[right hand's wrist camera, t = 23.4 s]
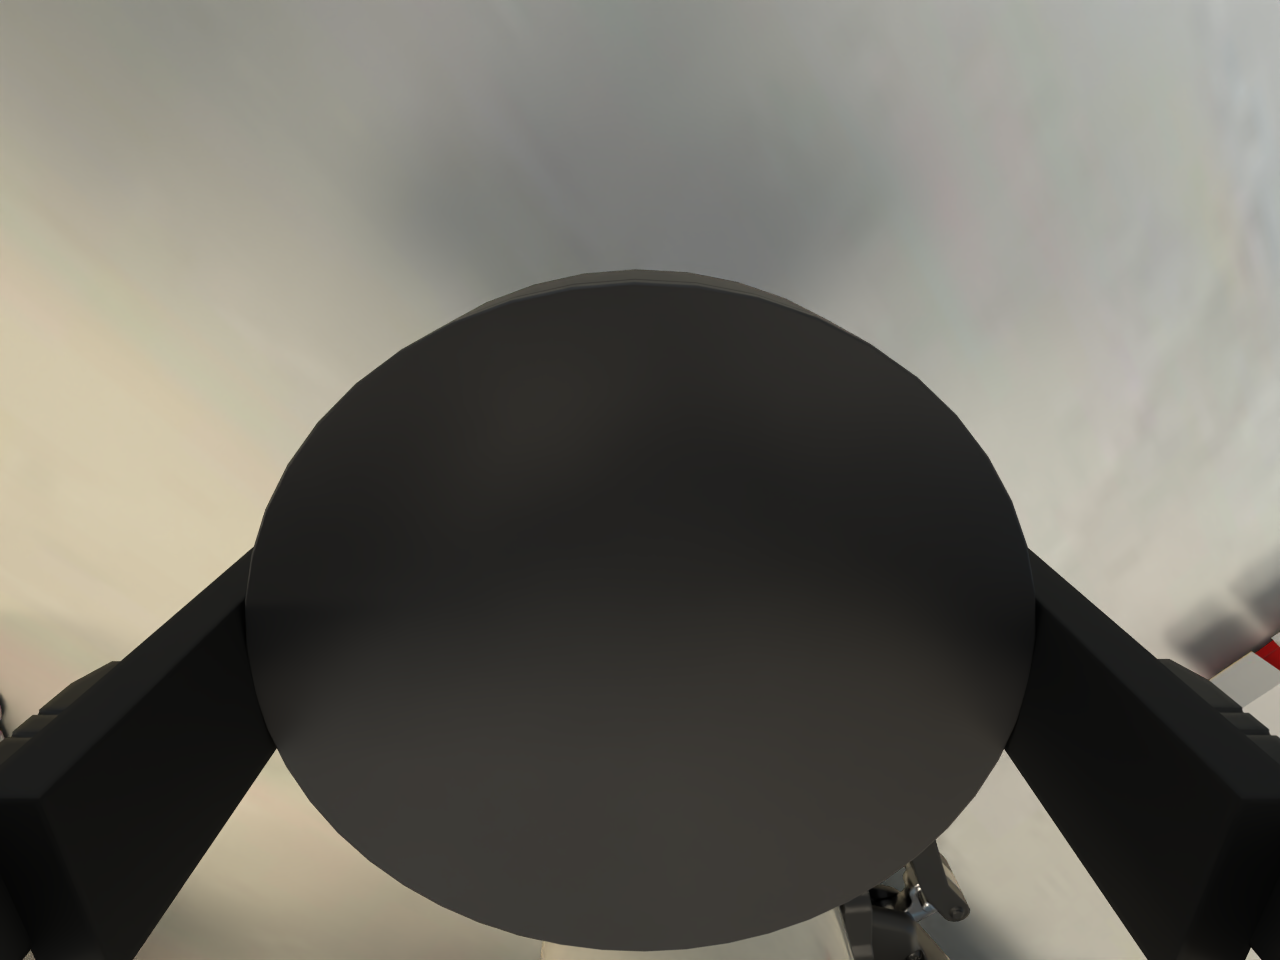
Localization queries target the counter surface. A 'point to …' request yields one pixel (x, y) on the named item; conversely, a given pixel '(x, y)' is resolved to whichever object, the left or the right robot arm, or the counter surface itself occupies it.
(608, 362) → the lid
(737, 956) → the jar
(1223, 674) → the toy
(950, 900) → the left robot arm
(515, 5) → the counter surface
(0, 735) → the figurine
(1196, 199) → the counter surface
